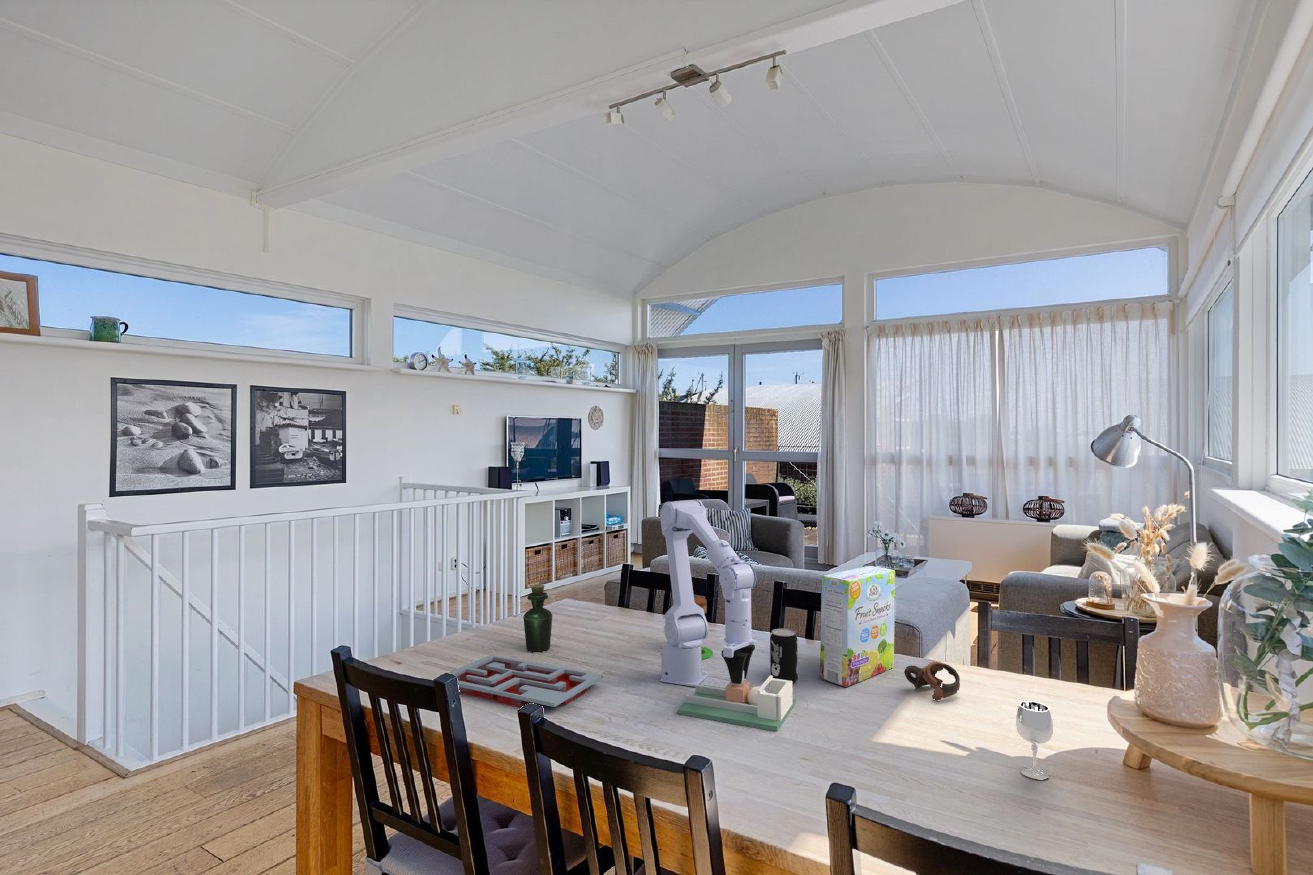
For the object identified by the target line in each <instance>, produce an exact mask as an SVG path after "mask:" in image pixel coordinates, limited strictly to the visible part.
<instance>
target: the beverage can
mask: <svg viewBox="0 0 1313 875" xmlns="http://www.w3.org/2000/svg"><path fill="white" fill-rule="evenodd" d="M769 652H770V654H769V659H770V660H769V662H770V666H769V667H770V670H769V671H770V674H769V676H770V675H772V676H773V678H774V679H781V680H788V681H792V685H793V684H795V683H796V682H797V680H798V679H799V678H798V677H799V676H798V675H799V674H798V672H799V670H798V664H799V663H798V660H799V659H798V657H799V656H798V637H797V635H796V631H795V630H793V629H791V628H790V629H789V628H775V629H772V630H771V635H770V638H769Z"/></svg>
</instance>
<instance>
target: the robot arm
mask: <svg viewBox="0 0 1313 875" xmlns="http://www.w3.org/2000/svg"><path fill="white" fill-rule="evenodd" d="M659 517H660V518H659V519H660V527H661V534H662V536H664V537H665V545H666V553H667V561H668V568H669V576H670V586H671V593H672V600H673V601H672V602H673V605H672V606H671V607H670V608H669V609H668V610H667V611H666V612H665V614H664V631H663V632H664V637H665V639H666V642H665V643H664V644H663V646H662V649H661V679H660V682H662V683H669V684H675V685H681V686H688V687H694V688H696V685H701V683H702V682H703V681H704V680H705V679H707V677H708V674H704V673H702V660H701V647H702V644H703V645H704V644H705V641H704V640H706V639H707V637H708V635H709V631H710V630H709V622H708V621H707V618H706V615H705V614H704V610H703V609H702V608H701V607H700V606H698V605H697V604H696V603H695V602H694V597H695V596H694V590H693V589H694V588H693V582H692V581H693V580H692V573H691V566H690V565H691V563H690V557H689V549H688V541H687V540H688V538H689V536H690V534H694V535H695V536H696V537H697V539H699V541H700V542H701V543H702V544H703V546H705V548H706V552H705V554H706V557H707V559H708V560H709V562H710V563H711V564H712V565H713V567H714V568H715V570H716V571H717V573H718V574H719V576H718V581H719V584H720V587H721V591H722V596H723V597H722V598H723V599H724V632H725V636H724V641H723V642H724V645H723V647H722V650H721V656H722V657H721V658H723V660H724V662H725V664H726V667H727V671H728V674H729V678H730V682H731V683H735V684H741V682H742V678H743V670H744V680H745V679H747V675H748V671H749V666H750V661H751V657H752V655H753V653H754V651H755V648H756V644H757V642H758V640H757V639H754V638H753V630H752V589H754V587H755V586H756V583H757V579H758V578H757V573H756V570H755V568H754V566H753V564H752V563H750V562H749V561H745V560H744V559H741V557H739V555H738V554H737V553H736V552H735V550H734V549H733V548H732V546H731V545H730V543H729V542H728V541H727V540H724V539H720V538H719V537H718V535H717V533H716V532H715V530H714V529H713V527H712V526H711V524H710V522H709V520H708V519H707V509H706V506H704V503H703V502H702V501H701V500H700V499H693V500H682V501H681V500H680V501H666V502H664V503H663V505H662V507H661V508H660V511H659ZM690 614H691V615H692V616H690ZM707 622H708V623H707Z"/></svg>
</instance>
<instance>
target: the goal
mask: <svg viewBox="0 0 1313 875" xmlns="http://www.w3.org/2000/svg"><path fill="white" fill-rule="evenodd" d="M767 686H768V692H766V693H764V692H762V691H763V690H765V688H766V687H767ZM759 687H760V688H759V689H758V690H757V715H758V717H760V718H766V719H772V720H778V721H781V720H782V719H783V717H784V716H785V714H786V713H787V711H788V710H789V708H790V707H791V705H792V704H793V699H794V698H793V684H792V681H788V680H781V679H774V678H773V676H772V675H770V674H769V676H768V677H767V679H766V680H765V681H764V682H763V683H762V684H761V685H760V686H759Z"/></svg>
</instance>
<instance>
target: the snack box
mask: <svg viewBox="0 0 1313 875" xmlns="http://www.w3.org/2000/svg"><path fill="white" fill-rule="evenodd" d="M820 599H821V605H820V650H819V651H820V652H819V653H820V654H819V655H820V661H819V662H820V663H819V664H820V665H819V679H822V680H825V681H827V682H830V683H833V684H836V685H837V686H838V685H839V686H841V687H844V688H848V687H850V686H853V685H855V684H857V683H860V682H862V681H865V680H867V679H869V678H872V677H875V676H877V675H880V674H881V672H882V673H885V672H887V671H890V670H892V669H894V668H895V610H896V609H895V608H896V606H895V605H896V604H895V603H896V570H894V569H892V568H886V567H878V566H874V565H865V566H862V567H861V566H860V567H857V568H851V569H847V570H843V571H837V572H833V573H830V574H825V575H821V596H820ZM891 668H892V669H891ZM889 669H890V670H889ZM886 670H887V671H886ZM884 671H885V672H884ZM879 673H880V674H879Z"/></svg>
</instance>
